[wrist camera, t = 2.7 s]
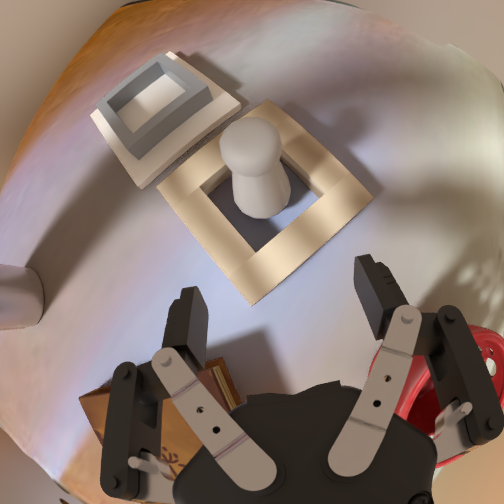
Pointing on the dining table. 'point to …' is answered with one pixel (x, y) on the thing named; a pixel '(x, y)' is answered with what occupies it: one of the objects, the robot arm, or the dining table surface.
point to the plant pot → (423, 391)
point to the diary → (171, 415)
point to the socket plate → (160, 115)
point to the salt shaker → (256, 166)
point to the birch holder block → (289, 239)
